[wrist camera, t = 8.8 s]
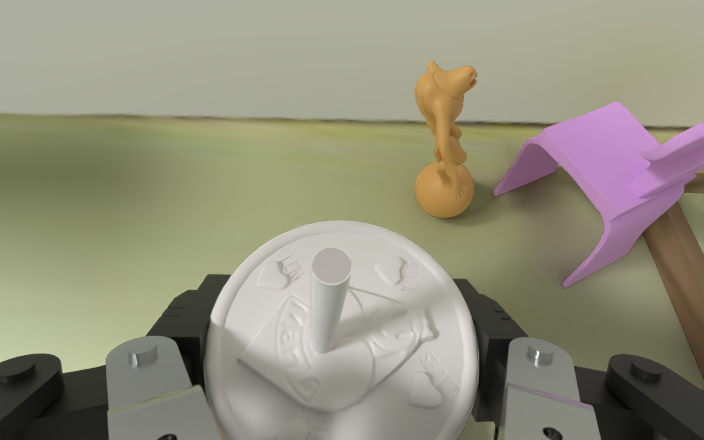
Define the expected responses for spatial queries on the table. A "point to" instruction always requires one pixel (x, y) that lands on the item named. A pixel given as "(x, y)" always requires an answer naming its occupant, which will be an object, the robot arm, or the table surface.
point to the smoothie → (341, 341)
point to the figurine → (444, 141)
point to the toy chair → (612, 173)
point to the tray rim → (681, 267)
